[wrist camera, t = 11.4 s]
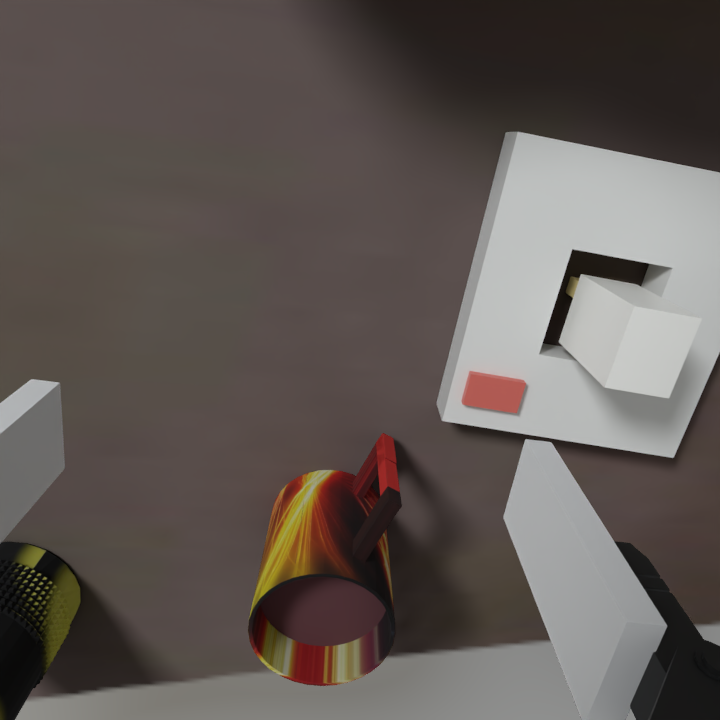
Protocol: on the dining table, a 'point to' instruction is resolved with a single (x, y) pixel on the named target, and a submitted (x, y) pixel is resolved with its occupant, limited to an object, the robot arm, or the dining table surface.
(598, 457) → the dining table surface
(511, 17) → the dining table surface
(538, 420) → the socket
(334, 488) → the mug
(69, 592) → the container
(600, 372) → the plug
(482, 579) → the dining table surface
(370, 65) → the dining table surface
